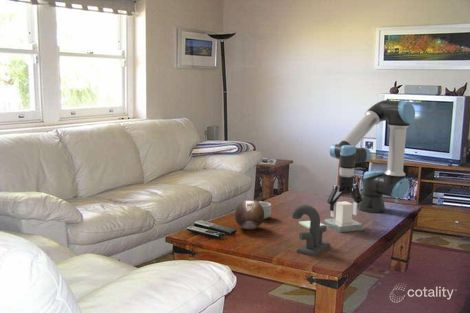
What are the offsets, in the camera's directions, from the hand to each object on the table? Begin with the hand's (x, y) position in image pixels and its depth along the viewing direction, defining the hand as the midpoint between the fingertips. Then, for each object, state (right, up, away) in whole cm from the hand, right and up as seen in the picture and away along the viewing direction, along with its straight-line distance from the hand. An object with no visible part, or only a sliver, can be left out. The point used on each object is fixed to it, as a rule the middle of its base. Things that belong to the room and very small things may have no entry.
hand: (343, 215), depth 271 cm
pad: (-16, -5, +3) cm, 17 cm away
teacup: (-42, -3, +16) cm, 45 cm away
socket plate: (0, -6, +1) cm, 6 cm away
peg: (0, -6, +1) cm, 6 cm away
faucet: (-24, -11, -32) cm, 41 cm away
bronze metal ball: (-49, -6, -6) cm, 50 cm away
